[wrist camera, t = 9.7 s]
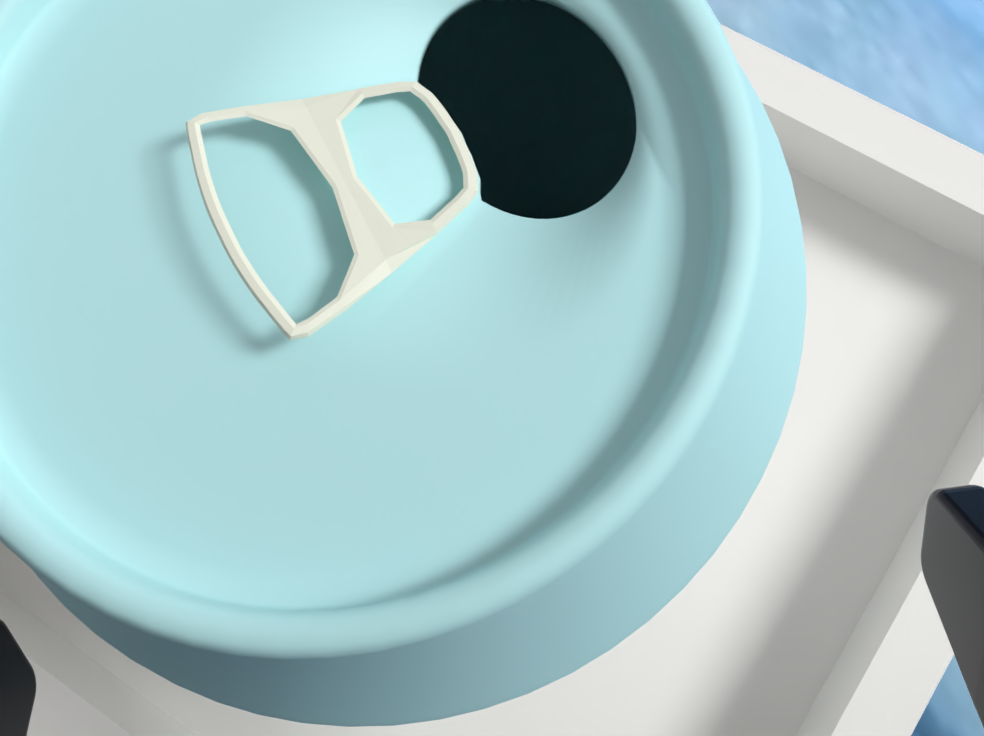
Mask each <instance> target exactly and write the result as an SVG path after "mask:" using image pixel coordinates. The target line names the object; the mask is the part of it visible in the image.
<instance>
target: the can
mask: <svg viewBox="0 0 984 736" xmlns="http://www.w3.org/2000/svg"><path fill="white" fill-rule="evenodd" d="M806 309H807V308H806V260H805V251H804V242H803V233H802V225H801V220H800V215H799V210H798V206H797V201H796V197H795V192H794V188H793V183H792V179H791V175H790V172H789V169H788V166H787V163H786V160H785V157H784V154H783V151H782V148H781V145H780V143H779V140H778V137H777V135H776V133H775V130H774V128H773V126H772V124H771V122H770V119H769V117H768V115H767V113H766V111H765V108H764V106H763V104H762V102H761V100H760V98H759V97H758V95H757V93H756V92H755V90H754V88H753V87H752V85H751V83H750V81H749V80H748V78H747V76H746V75H745V73H744V71H743V69H742V68H741V66H740V65H739V64H738V62H737V60H736V58H735V55H734V53H733V51H732V49H731V47H730V44H729V42H728V40H727V38H726V35H725V33H724V31H723V29H722V27H721V25H720V23H719V22H718V20H717V18H716V16H715V15H714V13H713V11H712V10H711V8H710V6H709V4H708V3H707V1H706V0H0V541H1V542H2V543H3V544H4V545H5V546H7V547H8V548H9V549H10V550H11V551H12V552H13V553H14V554H16V555H17V556H18V557H19V558H20V559H21V560H22V561H23V562H25V563H26V564H27V565H28V566H29V567H30V568H31V569H32V570H33V571H34V573H35V574H36V575H37V577H38V578H39V579H40V580H41V581H42V582H43V583H44V584H45V585H46V587H47V588H48V589H49V590H50V591H51V592H52V593H53V594H54V595H55V597H56V598H57V599H58V600H59V601H60V602H61V603H62V604H63V605H64V606H65V607H66V608H67V609H68V610H69V611H70V612H71V613H72V614H73V615H75V616H76V617H77V618H78V619H79V620H80V621H81V622H82V623H84V624H85V625H86V626H87V627H88V628H89V629H90V630H91V631H93V632H94V633H95V634H96V635H97V636H99V637H100V638H101V639H103V640H104V641H106V642H107V643H108V644H110V645H111V646H113V647H114V648H115V649H117V650H118V651H120V652H121V653H122V654H124V655H125V656H127V657H128V658H129V659H131V660H133V661H134V662H136V663H138V664H140V665H141V666H143V667H145V668H147V669H149V670H150V671H152V672H154V673H156V674H157V675H159V676H161V677H163V678H165V679H166V680H168V681H170V682H172V683H174V684H176V685H178V686H180V687H182V688H185V689H187V690H189V691H192V692H194V693H197V694H199V695H201V696H204V697H206V698H208V699H211V700H213V701H215V702H218V703H221V704H225V705H228V706H231V707H235V708H238V709H241V710H245V711H248V712H251V713H254V714H258V715H263V716H268V717H273V718H278V719H284V720H289V721H294V722H299V723H308V724H320V725H332V726H344V727H361V726H395V725H403V724H411V723H418V722H426V721H433V720H440V719H445V718H449V717H453V716H457V715H461V714H466V713H470V712H474V711H478V710H482V709H486V708H489V707H492V706H494V705H497V704H500V703H503V702H506V701H509V700H512V699H514V698H517V697H520V696H523V695H526V694H529V693H531V692H533V691H535V690H537V689H539V688H542V687H544V686H546V685H548V684H550V683H552V682H554V681H556V680H559V679H561V678H563V677H565V676H567V675H569V674H571V673H573V672H575V671H576V670H578V669H580V668H581V667H583V666H584V665H586V664H588V663H589V662H591V661H593V660H594V659H596V658H598V657H599V656H601V655H603V654H604V653H606V652H608V651H609V650H611V649H612V648H614V647H615V646H616V645H618V644H619V643H620V642H622V641H623V640H624V639H626V638H627V637H628V636H630V635H631V634H632V633H634V632H635V631H636V630H638V629H639V628H640V627H642V626H643V625H644V624H646V623H647V622H648V621H649V620H650V619H652V618H653V617H654V616H655V615H656V614H657V613H658V612H659V611H660V610H661V609H662V608H663V607H664V606H666V605H667V604H668V603H669V602H670V601H671V600H672V599H673V598H674V597H675V596H676V595H677V594H678V593H680V592H681V591H682V590H683V589H684V588H685V586H686V585H687V584H688V583H689V582H690V581H691V580H692V578H693V577H694V576H695V575H696V574H697V573H698V572H699V570H700V569H701V568H702V567H703V566H704V565H705V564H706V563H707V561H708V560H709V559H710V558H711V557H712V556H713V555H714V553H715V552H716V550H717V549H718V547H719V546H720V545H721V543H722V542H723V540H724V539H725V538H726V536H727V535H728V533H729V532H730V531H731V529H732V528H733V526H734V525H735V523H736V522H737V521H738V519H739V518H740V516H741V514H742V513H743V511H744V509H745V507H746V506H747V504H748V502H749V500H750V499H751V497H752V495H753V493H754V491H755V490H756V488H757V486H758V484H759V483H760V481H761V479H762V477H763V475H764V473H765V470H766V468H767V466H768V463H769V461H770V459H771V457H772V454H773V452H774V450H775V447H776V445H777V443H778V440H779V438H780V436H781V432H782V429H783V426H784V423H785V420H786V417H787V414H788V410H789V407H790V404H791V401H792V398H793V395H794V390H795V385H796V380H797V375H798V370H799V365H800V361H801V356H802V350H803V340H804V329H805V319H806Z"/></svg>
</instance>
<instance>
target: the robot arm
mask: <svg viewBox="0 0 984 736" xmlns="http://www.w3.org/2000/svg"><path fill="white" fill-rule="evenodd" d="M921 565H922V571H923V575H924V578H925V581H926V584H927V586H928V589H929V591H930V594H931V596H932V599H933V602H934V604H935V607H936V609H937V612H938V614H939V617H940V619H941V622H942V624H943V627H944V629H945V632H946V635H947V637H948V640H949V642H950V645H951V647H952V650H953V652H954V655H955V657H956V660H957V663H958V665H959V668H960V670H961V673H962V675H963V678H964V680H965V683H966V685H967V688H968V690H969V693H970V696H971V698H972V701H973V703H974V706H975V708H976V710H977V713H978V715H979V717H980V720H981V722H982V725H983V727H984V488H983V487H981V486H978V485H964V486H956V487H949V488H941V489H937V490H935V491H933V492H932V493H931V494H930V496H929V498H928V501H927V506H926V514H925V523H924V531H923V539H922V547H921ZM35 695H36V677H35V673H34V670H33V668H32V666H31V664H30V662H29V661H28V659H27V658H26V656H25V654H24V653H23V651H22V649H21V648H20V646H19V645H18V643H17V641H16V640H15V638H14V637H13V635H12V633H11V632H10V630H9V629H8V627H7V625H6V624H5V623H4V621H2V620H1V619H0V736H27V731H28V727H29V722H30V718H31V713H32V709H33V705H34V700H35Z"/></svg>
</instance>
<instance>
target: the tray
mask: <svg viewBox="0 0 984 736" xmlns="http://www.w3.org/2000/svg"><path fill="white" fill-rule="evenodd" d="M720 25H721V24H720ZM721 27H722V29H723V31H724V33H725V35H726V38H727V40H728V42H729V44H730V47H731V49H732V51H733V53H734V55H735V58H736V60H737V62H738V64H739V65H740V66H741V68H742V69H743V71H744V73H745V75H746V76H747V78H748V80H749V81H750V83H751V85H752V87H753V88H754V90H755V92H756V93H757V95H758V97H759V98H760V100H761V102H762V104H763V106H764V108H765V111H766V113H767V115H768V117H769V119H770V122H771V124H772V126H773V128H774V130H775V133H776V135H777V137H778V140H779V143H780V145H781V148H782V151H783V154H784V157H785V160H786V163H787V166H788V169H789V172H790V175H791V179H792V183H793V188H794V192H795V197H796V201H797V206H798V210H799V215H800V220H801V225H802V233H803V242H804V251H805V260H806V308H807V309H806V319H805V329H804V340H803V350H802V356H801V361H800V365H799V370H798V375H797V380H796V385H795V390H794V395H793V398H792V401H791V404H790V407H789V410H788V414H787V417H786V420H785V423H784V426H783V429H782V432H781V436H780V438H779V440H778V443H777V445H776V447H775V450H774V452H773V454H772V457H771V459H770V461H769V463H768V466H767V468H766V470H765V473H764V475H763V477H762V479H761V481H760V483H759V484H758V486H757V488H756V490H755V491H754V493H753V495H752V497H751V499H750V500H749V502H748V504H747V506H746V507H745V509H744V511H743V513H742V514H741V516H740V518H739V519H738V521H737V522H736V523H735V525H734V526H733V528H732V529H731V531H730V532H729V533H728V535H727V536H726V538H725V539H724V540H723V542H722V543H721V545H720V546H719V547H718V549H717V550H716V552H715V553H714V555H713V556H712V557H711V558H710V559H709V560H708V561H707V563H706V564H705V565H704V566H703V567H702V568H701V569H700V570H699V572H698V573H697V574H696V575H695V576H694V577H693V578H692V580H691V581H690V582H689V583H688V584H687V585H686V586H685V588H684V589H683V590H682V591H681V592H680V593H678V594H677V595H676V596H675V597H674V598H673V599H672V600H671V601H670V602H669V603H668V604H667V605H666V606H664V607H663V608H662V609H661V610H660V611H659V612H658V613H657V614H656V615H655V616H654V617H653V618H652V619H650V620H649V621H648V622H647V623H646V624H644V625H643V626H642V627H640V628H639V629H638V630H636V631H635V632H634V633H632V634H631V635H630V636H628V637H627V638H626V639H624V640H623V641H622V642H620V643H619V644H618V645H616V646H615V647H614V648H612V649H611V650H609V651H608V652H606V653H604V654H603V655H601V656H599V657H598V658H596V659H594V660H593V661H591V662H589V663H588V664H586V665H584V666H583V667H581V668H580V669H578V670H576V671H575V672H573V673H571V674H569V675H567V676H565V677H563V678H561V679H559V680H556V681H554V682H552V683H550V684H548V685H546V686H544V687H542V688H539V689H537V690H535V691H533V692H531V693H529V694H526V695H523V696H520V697H517V698H514V699H512V700H509V701H506V702H503V703H500V704H497V705H494V706H492V707H489V708H486V709H482V710H478V711H474V712H470V713H466V714H461V715H457V716H453V717H449V718H445V719H440V720H433V721H426V722H418V723H411V724H403V725H395V726H361V727H344V726H332V725H320V724H308V723H299V722H294V721H289V720H284V719H278V718H273V717H268V716H263V715H258V714H254V713H251V712H248V711H245V710H241V709H238V708H235V707H231V706H228V705H225V704H221V703H218V702H215V701H213V700H211V699H208V698H206V697H204V696H201V695H199V694H197V693H194V692H192V691H189V690H187V689H185V688H182V687H180V686H178V685H176V684H174V683H172V682H170V681H168V680H166V679H165V678H163V677H161V676H159V675H157V674H156V673H154V672H152V671H150V670H149V669H147V668H145V667H143V666H141V665H140V664H138V663H136V662H134V661H133V660H131V659H129V658H128V657H127V656H125V655H124V654H122V653H121V652H120V651H118V650H117V649H115V648H114V647H113V646H111V645H110V644H108V643H107V642H106V641H104V640H103V639H101V638H100V637H99V636H97V635H96V634H95V633H94V632H93V631H91V630H90V629H89V628H88V627H87V626H86V625H85V624H84V623H82V622H81V621H80V620H79V619H78V618H77V617H76V616H75V615H73V614H72V613H71V612H70V611H69V610H68V609H67V608H66V607H65V606H64V605H63V604H62V603H61V602H60V601H59V600H58V599H57V598H56V597H55V595H54V594H53V593H52V592H51V591H50V590H49V589H48V588H47V587H46V585H45V584H44V583H43V582H42V581H41V580H40V579H39V578H38V577H37V575H36V574H35V573H34V571H33V570H32V569H31V568H30V567H29V566H28V565H27V564H26V563H25V562H23V561H22V560H21V559H20V558H19V557H18V556H17V555H16V554H14V553H13V552H12V551H11V550H10V549H9V548H8V547H7V546H5V545H4V544H3V543H2V542H1V541H0V619H1V620H2V621H4V623H5V624H6V625H7V627H8V629H9V630H10V632H11V633H12V635H13V637H14V638H15V640H16V641H17V643H18V645H19V646H20V648H21V649H22V651H23V653H24V654H25V656H26V658H27V659H28V661H29V662H30V664H31V666H32V668H33V670H34V673H35V677H36V695H35V700H34V705H33V709H32V713H31V718H30V722H29V727H28V731H27V736H911V734H912V732H913V730H914V728H915V727H916V725H917V723H918V721H919V719H920V717H921V715H922V713H923V712H924V710H925V708H926V706H927V704H928V702H929V700H930V699H931V697H932V695H933V693H934V691H935V689H936V687H937V685H938V684H939V682H940V680H941V678H942V676H943V674H944V672H945V670H946V669H947V667H948V665H949V663H950V661H951V659H952V657H953V655H954V652H953V650H952V647H951V645H950V642H949V640H948V637H947V635H946V632H945V629H944V627H943V624H942V622H941V619H940V617H939V614H938V612H937V609H936V607H935V604H934V602H933V599H932V596H931V594H930V591H929V589H928V586H927V584H926V581H925V578H924V575H923V571H922V565H921V547H922V539H923V531H924V523H925V514H926V506H927V501H928V498H929V496H930V494H931V493H932V492H933V491H935V490H937V489H941V488H949V487H956V486H964V485H978V486H981V487H983V488H984V155H983V154H981V153H979V152H977V151H975V150H973V149H971V148H969V147H967V146H965V145H963V144H961V143H959V142H957V141H955V140H953V139H951V138H949V137H947V136H945V135H943V134H941V133H939V132H937V131H935V130H933V129H931V128H929V127H927V126H925V125H923V124H921V123H919V122H917V121H915V120H913V119H911V118H909V117H907V116H905V115H903V114H901V113H899V112H896V111H894V110H892V109H890V108H888V107H886V106H884V105H882V104H880V103H878V102H876V101H874V100H872V99H870V98H868V97H866V96H864V95H862V94H860V93H858V92H856V91H854V90H852V89H850V88H848V87H846V86H844V85H842V84H840V83H838V82H836V81H834V80H832V79H830V78H828V77H826V76H824V75H822V74H820V73H818V72H816V71H814V70H812V69H810V68H808V67H806V66H804V65H802V64H800V63H798V62H796V61H794V60H792V59H790V58H788V57H786V56H784V55H782V54H780V53H778V52H776V51H774V50H772V49H770V48H768V47H766V46H764V45H761V44H759V43H757V42H755V41H753V40H751V39H749V38H747V37H745V36H743V35H741V34H739V33H737V32H735V31H733V30H731V29H729V28H727V27H725V26H723V25H721Z"/></svg>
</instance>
